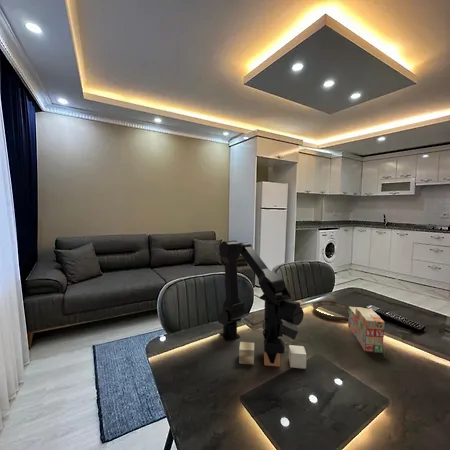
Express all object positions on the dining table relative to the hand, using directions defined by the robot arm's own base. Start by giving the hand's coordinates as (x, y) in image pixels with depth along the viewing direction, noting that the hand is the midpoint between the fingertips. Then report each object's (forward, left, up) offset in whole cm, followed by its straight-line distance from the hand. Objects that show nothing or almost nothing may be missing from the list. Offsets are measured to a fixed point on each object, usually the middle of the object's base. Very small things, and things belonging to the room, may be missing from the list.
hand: (271, 358), depth 87 cm
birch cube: (-5, -7, -1) cm, 9 cm away
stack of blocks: (+6, +44, -1) cm, 45 cm away
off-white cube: (+5, +7, -1) cm, 9 cm away
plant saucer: (-17, +55, -2) cm, 58 cm away
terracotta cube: (0, 0, -1) cm, 1 cm away
